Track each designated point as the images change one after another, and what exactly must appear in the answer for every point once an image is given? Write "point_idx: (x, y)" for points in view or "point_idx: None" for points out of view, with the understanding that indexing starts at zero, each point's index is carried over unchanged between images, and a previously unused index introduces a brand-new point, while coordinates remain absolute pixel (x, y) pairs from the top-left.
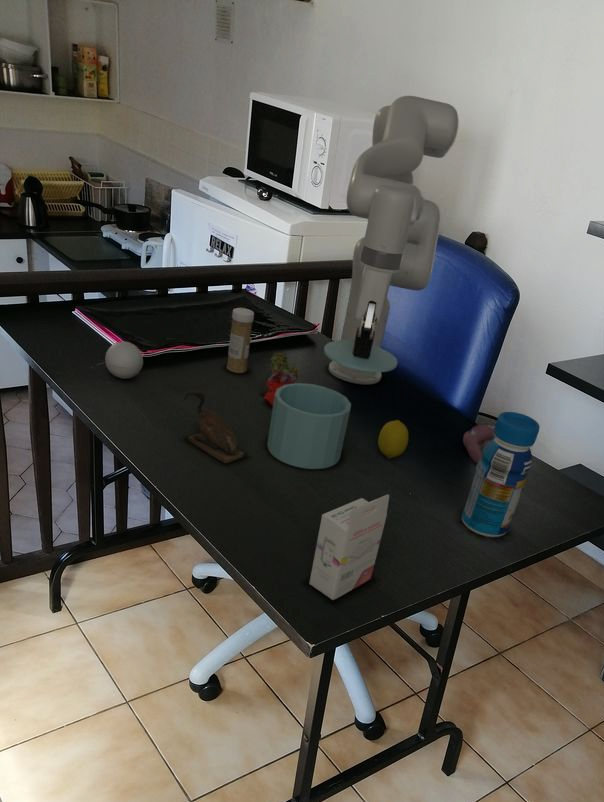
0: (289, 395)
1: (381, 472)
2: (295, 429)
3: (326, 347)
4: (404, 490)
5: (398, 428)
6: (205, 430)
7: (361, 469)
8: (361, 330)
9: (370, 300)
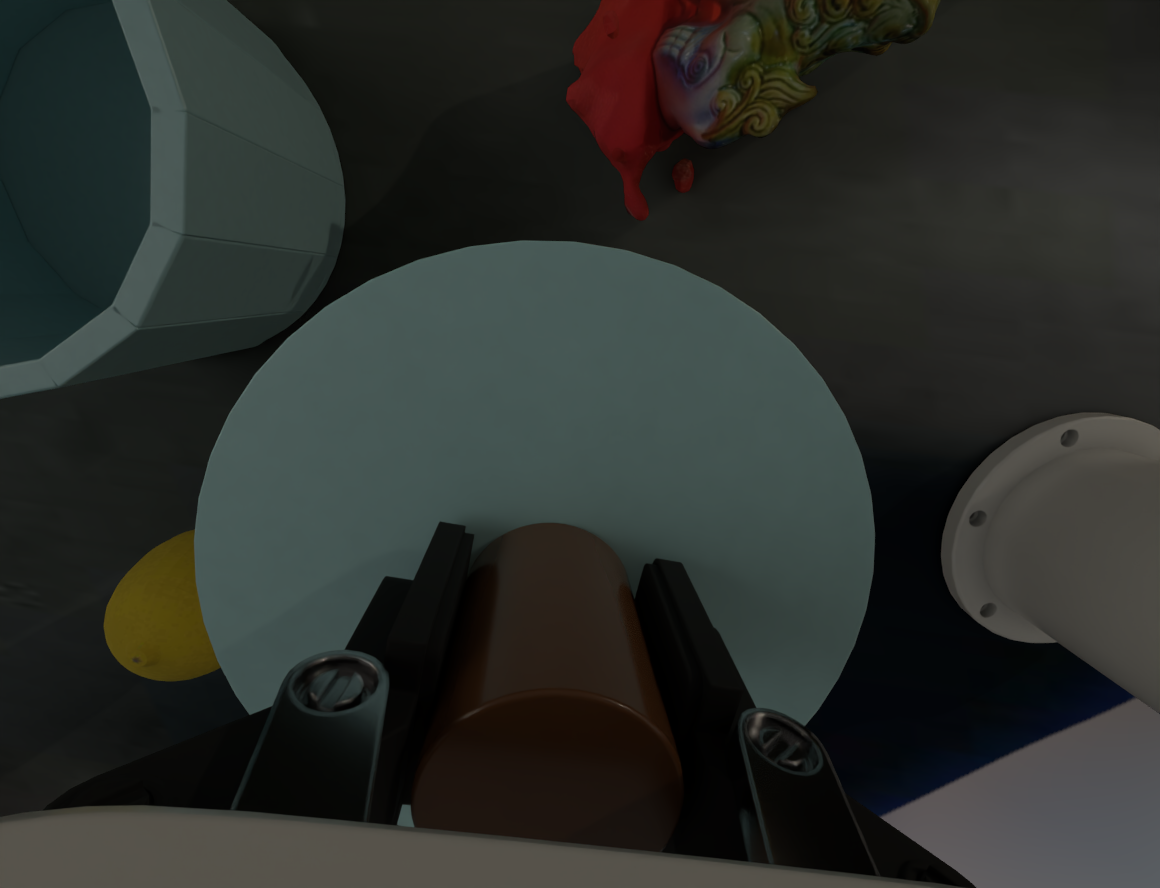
0: None
1: (116, 506)
2: None
3: (613, 271)
4: (5, 569)
5: (109, 644)
6: None
7: (105, 429)
8: (113, 784)
9: None
